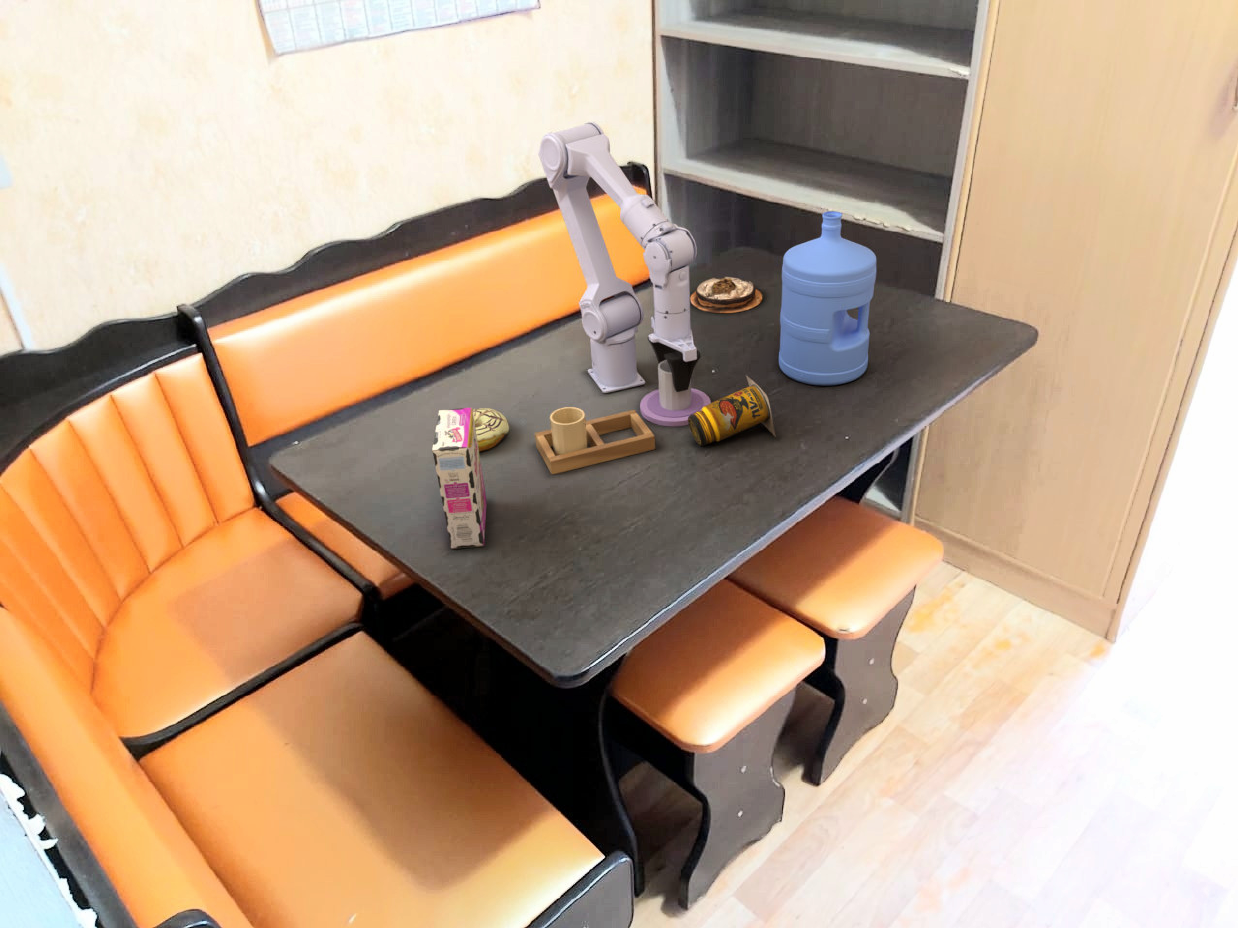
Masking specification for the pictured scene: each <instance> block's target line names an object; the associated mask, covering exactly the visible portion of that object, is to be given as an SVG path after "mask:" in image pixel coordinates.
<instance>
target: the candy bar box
mask: <svg viewBox="0 0 1238 928" xmlns="http://www.w3.org/2000/svg"><path fill="white" fill-rule="evenodd" d="M472 409H473V407H460V408H452V409H440V410H438V414H437V420H436V426H435V431H434V437H433V443H432V451H431V452H432V456H433V461H434V466H435V471H436V476H437V481H438V488H439V493H440V497H441V503H442V509H443V513H444V514H443V515H444V518H445V524H446V530H447V534H448V540H449V545H450V549H452V550H454V549H455V550H456V549H457V550H458V549H467V548H480V547H484V546H485V534H486V521H487V520H486V517H487V504H488V500H487V493H486V489H485V481H484V475H483V469H482V463H481V457H480V451H479V449H478V442H477V436H476V429H475V423H474V417H473V410H472Z"/></svg>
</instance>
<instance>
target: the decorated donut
mask: <svg viewBox="0 0 1238 928" xmlns="http://www.w3.org/2000/svg"><path fill="white" fill-rule="evenodd" d="M472 410H473V417H474V423H475V429H476V436H477V442H478V449H479V452H482V451H486V450H490V449H492V448H493V447H495V446H497V445H498V444H499V443H500V442H501V440H503V438H504V437H505V435H507V434H508V432H509V431H510V425H509V423H508V420H507V418H506V416H504V415H503V414H502V413H501V412H500V411H498V410H495V409H493V408H489V407H483V408H482V407H479V408H472Z"/></svg>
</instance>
